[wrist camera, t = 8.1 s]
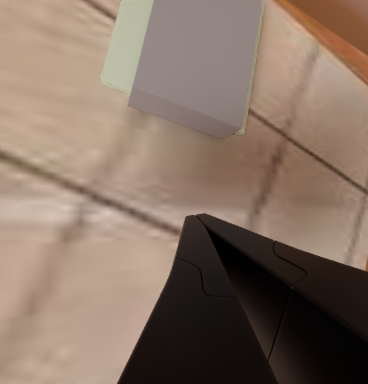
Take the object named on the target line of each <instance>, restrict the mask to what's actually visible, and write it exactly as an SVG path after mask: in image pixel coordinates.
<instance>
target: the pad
mask: <svg viewBox="0 0 368 384" xmlns="http://www.w3.org/2000/svg"><path fill="white" fill-rule="evenodd" d="M153 1H154V0H121V4H120V8H119V11H118V15H117V19H116V22H115V26H114V30H113V33H112V37H111V41H110V44H109V48H108V52H107V55H106V59H105V63H104V66H103V70H102V74H101V77H100V84H103V85H106V86H109V87H111V88H114V89H117V90H119V91H122V92H125V93H127V94H131V90H132V85H133V81H134V77H135V73H136V69H137V65H138V61H139V57H140V53H141V49H142V45H143V41H144V37H145V33H146V29H147V25H148V21H149V17H150V13H151V9H152V5H153ZM264 6H265V0H262V4H261V11H260V17H259V23H258V30H257V36H256V42H255V48H254V55H253V61H252V67H251V74H250V80H249V86H248V92H247V99H246V105H245V111H244V118H243V124H242V129H240V130H239V131H237V132H235V134H238V135H241V136H242V135H243V134H245V128H246V122H247V115H248V109H249V103H250V96H251V90H252V83H253V77H254V70H255V64H256V57H257V51H258V44H259V38H260V32H261V25H262V19H263V12H264Z"/></svg>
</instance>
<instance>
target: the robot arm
mask: <svg viewBox="0 0 368 384" xmlns="http://www.w3.org/2000/svg"><path fill="white" fill-rule="evenodd" d="M117 384H368V272H367V271H364V270H361V269H358V268H354V267H351V266H348V265H345V264H342V263H339V262H336V261H333V260H330V259H326V258H323V257H320V256H317V255H314V254H311V253H308V252H305V251H302V250H299V249H296V248H294V247H291V246H288V245H286V244H283V243H280V242H278V241H273V240H272V239H269V238H267V237H264V236H262V235H259V234H257V233H254V232H251V231H249V230H246V229H244V228H241V227H239V226H236V225H234V224H231V223H228V222H226V221H223V220H221V219H218V218H216V217H213V216H211V215H208V214H205V213H204V214H197V215H190V216H186V217H185V221H184V225H183V229H182V232H181V236H180V240H179V244H178V247H177V251H176V255H175V259H174V262H173V265H172V268H171V271H170V274H169V277H168V279H167V282H166V284H165V286H164V288H163V290H162V292H161V294H160V296H159V299H158V301H157V303H156V305H155V307H154V309H153V311H152V313H151V315H150V317H149V319H148V321H147V323H146V325H145V327H144V329H143V331H142V333H141V335H140V337H139V339H138V341H137V344H136V346H135V348H134V350H133V352H132V354H131V356H130V358H129V360H128V362H127V364H126V366H125V368H124V370H123V372H122V374H121V376H120V378H119V380H118V382H117Z"/></svg>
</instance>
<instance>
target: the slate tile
mask: <svg viewBox="0 0 368 384" xmlns="http://www.w3.org/2000/svg"><path fill="white" fill-rule="evenodd" d="M261 4H262V0H154V1H153V5H152V9H151V13H150V17H149V21H148V25H147V29H146V33H145V37H144V41H143V45H142V49H141V53H140V57H139V61H138V65H137V69H136V73H135V77H134V81H133V85H132V90H131V94H130V98H129V102H128V106H130V107H133V108H135V109H138V110H141V111H144V112H147V113H150V114H152V115H155V116H158V117H161V118H164V119H166V120H169V121H172V122H175V123H178V124H180V125H183V126H186V127H189V128H192V129H195V130H197V131H200V132H203V133H206V134H209V135H211V136H214V137H217V138H220V139H225V138H226V137H228V136H230V135H232V134H233V133H235V132H237V131H239V130H240V129H242V124H243V118H244V111H245V105H246V99H247V92H248V86H249V80H250V74H251V67H252V61H253V55H254V48H255V42H256V36H257V30H258V23H259V17H260V11H261Z"/></svg>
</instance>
